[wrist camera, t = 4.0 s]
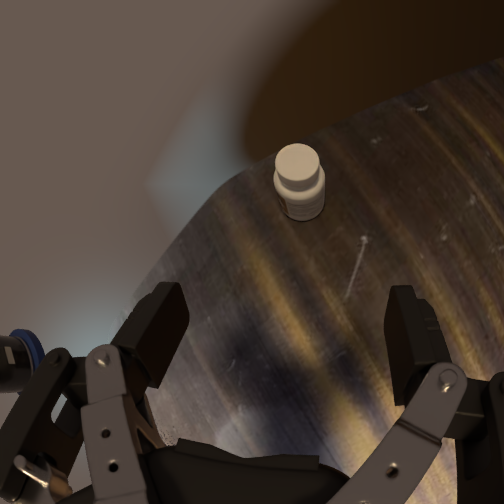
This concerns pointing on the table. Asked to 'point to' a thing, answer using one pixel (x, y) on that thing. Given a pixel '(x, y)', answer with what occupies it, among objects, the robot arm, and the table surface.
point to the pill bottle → (299, 182)
